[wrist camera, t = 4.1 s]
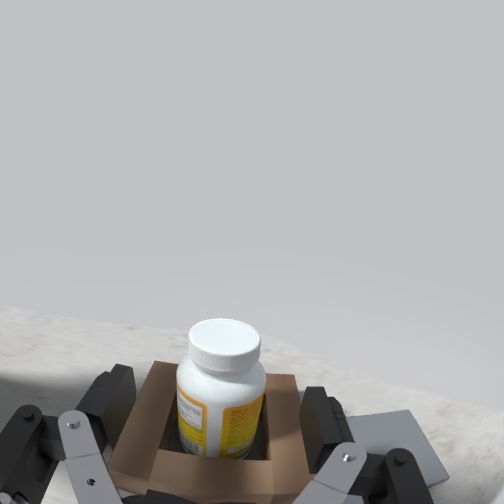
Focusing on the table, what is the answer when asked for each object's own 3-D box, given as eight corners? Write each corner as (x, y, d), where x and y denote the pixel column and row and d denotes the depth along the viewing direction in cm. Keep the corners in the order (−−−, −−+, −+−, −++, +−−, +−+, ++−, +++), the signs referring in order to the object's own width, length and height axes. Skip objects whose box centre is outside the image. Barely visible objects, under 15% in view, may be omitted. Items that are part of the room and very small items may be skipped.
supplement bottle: (172, 460, 15) (161, 351, 13) (188, 411, 20) (187, 307, 18) (252, 472, 15) (274, 367, 13) (255, 421, 20) (272, 318, 18)
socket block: (115, 487, 12) (106, 468, 11) (156, 382, 23) (154, 360, 23) (309, 507, 12) (319, 491, 11) (289, 395, 24) (294, 374, 23)
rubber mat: (340, 509, 12) (342, 507, 12) (317, 421, 20) (318, 418, 20) (446, 480, 12) (449, 477, 12) (407, 412, 21) (408, 409, 21)
